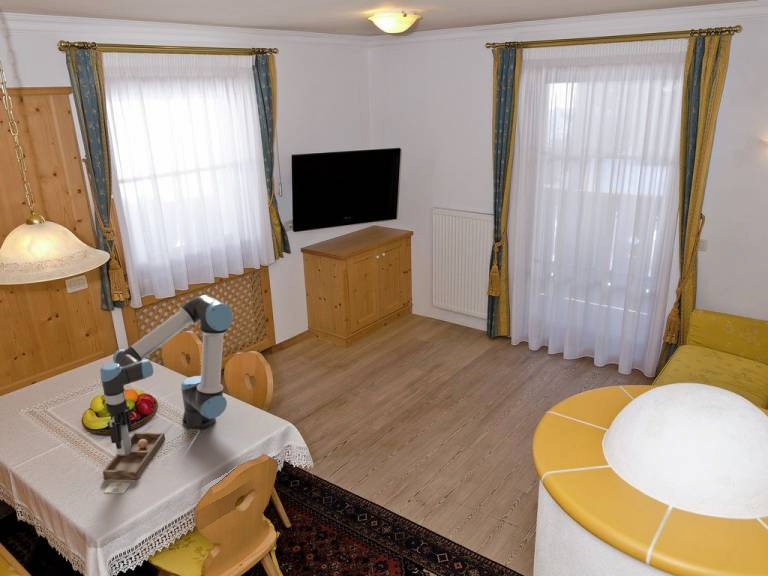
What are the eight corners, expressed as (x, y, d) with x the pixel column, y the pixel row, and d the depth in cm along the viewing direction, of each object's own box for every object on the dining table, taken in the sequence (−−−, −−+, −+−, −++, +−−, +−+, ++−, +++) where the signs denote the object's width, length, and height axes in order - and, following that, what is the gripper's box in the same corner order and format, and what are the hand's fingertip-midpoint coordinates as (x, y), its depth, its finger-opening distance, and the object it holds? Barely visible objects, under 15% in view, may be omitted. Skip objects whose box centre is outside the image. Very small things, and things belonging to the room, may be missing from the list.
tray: (165, 440, 265) (164, 433, 264) (137, 480, 239) (136, 472, 237) (135, 439, 266) (134, 432, 264) (104, 479, 240) (102, 471, 238)
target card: (130, 483, 237) (130, 482, 237) (123, 493, 231) (123, 492, 231) (111, 483, 237) (111, 482, 237) (103, 492, 232) (103, 491, 232)
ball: (149, 444, 260) (148, 437, 259) (145, 450, 257) (144, 442, 255) (140, 444, 261) (139, 437, 259) (136, 450, 257) (135, 442, 255)
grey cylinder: (133, 448, 245) (129, 424, 241) (128, 456, 240) (123, 431, 236) (122, 448, 245) (117, 423, 241) (116, 455, 240) (111, 430, 236)
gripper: (117, 389, 243) (126, 437, 251) (95, 412, 226) (105, 462, 234) (135, 389, 243) (143, 437, 251) (113, 413, 226) (123, 463, 234)
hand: (124, 449), depth 242 cm, fingers closed on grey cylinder, 5 cm apart
